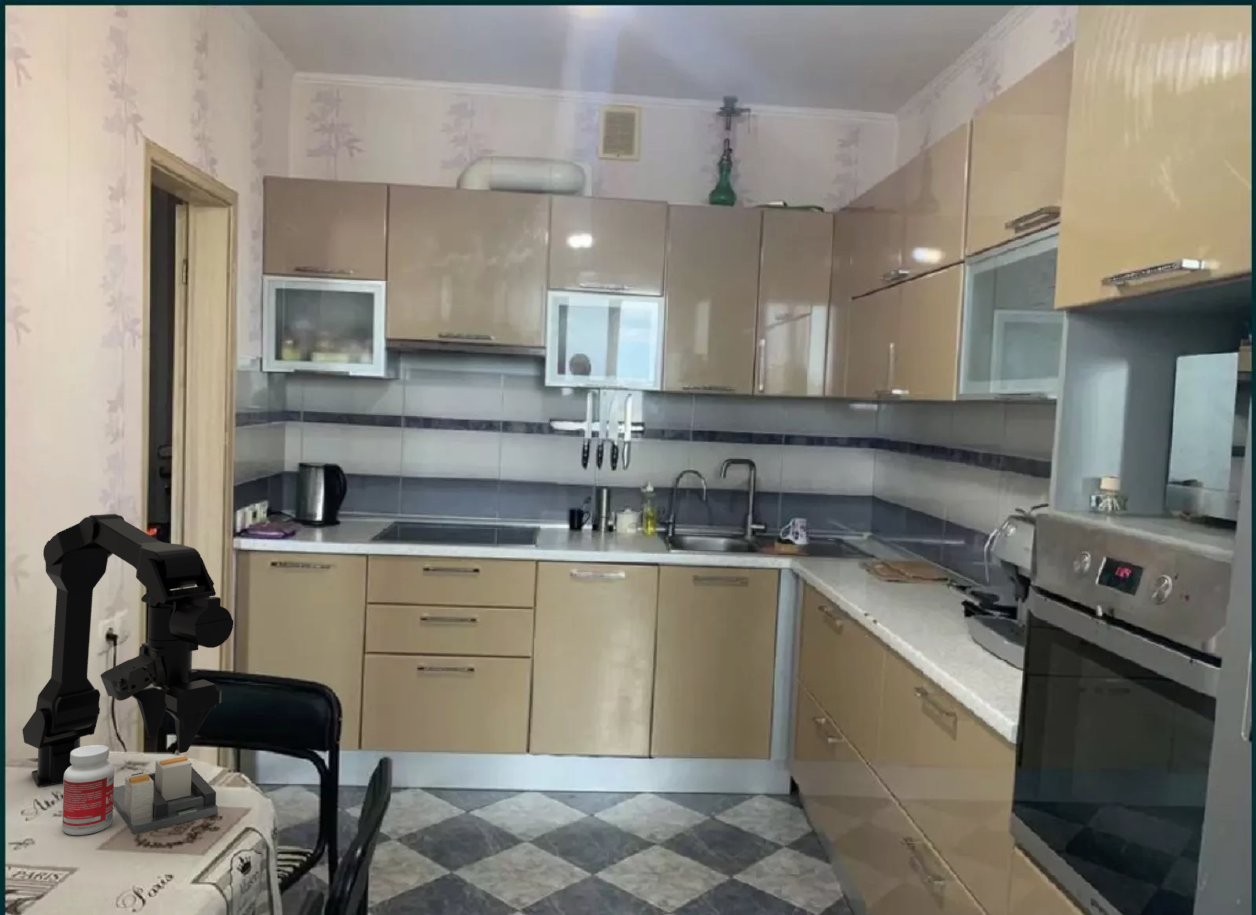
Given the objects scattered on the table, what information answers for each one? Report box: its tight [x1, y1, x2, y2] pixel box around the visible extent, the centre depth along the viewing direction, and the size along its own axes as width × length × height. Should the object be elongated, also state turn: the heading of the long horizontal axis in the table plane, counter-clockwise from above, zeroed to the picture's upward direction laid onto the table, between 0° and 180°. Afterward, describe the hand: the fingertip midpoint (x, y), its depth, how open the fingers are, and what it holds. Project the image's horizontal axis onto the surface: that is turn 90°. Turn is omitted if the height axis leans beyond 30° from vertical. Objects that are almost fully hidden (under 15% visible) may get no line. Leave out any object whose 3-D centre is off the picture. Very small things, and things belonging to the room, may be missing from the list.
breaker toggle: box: [154, 754, 193, 801], centre depth 134 cm, size 4×4×5 cm
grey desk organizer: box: [113, 766, 219, 835], centre depth 134 cm, size 16×11×6 cm
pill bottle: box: [61, 744, 115, 836], centre depth 126 cm, size 6×6×11 cm
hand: (167, 744), depth 127 cm, fingers open, 9 cm apart
